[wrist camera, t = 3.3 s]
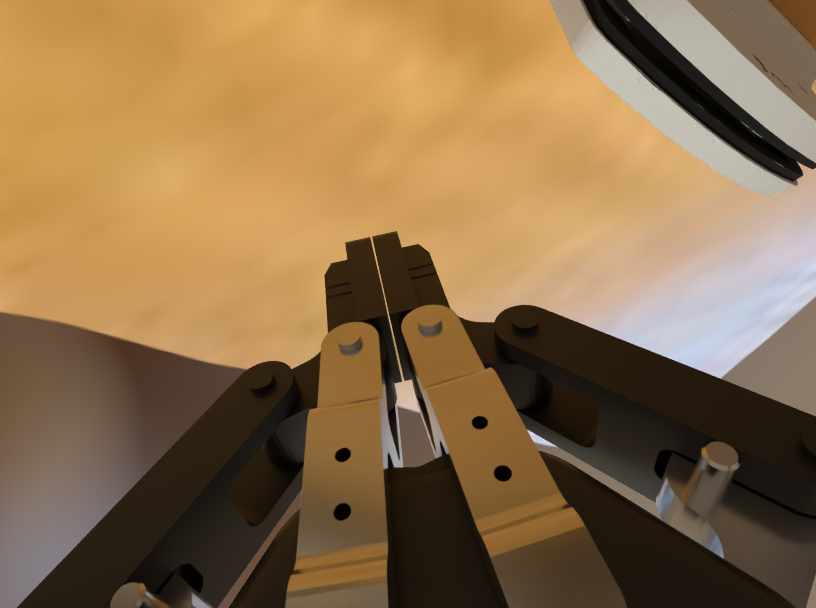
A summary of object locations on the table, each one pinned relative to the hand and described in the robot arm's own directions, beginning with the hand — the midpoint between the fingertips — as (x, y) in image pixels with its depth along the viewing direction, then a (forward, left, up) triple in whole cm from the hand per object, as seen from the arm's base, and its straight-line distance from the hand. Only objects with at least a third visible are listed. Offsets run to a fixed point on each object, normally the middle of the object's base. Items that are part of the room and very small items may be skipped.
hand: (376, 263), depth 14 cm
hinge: (0, +17, -15) cm, 22 cm away
